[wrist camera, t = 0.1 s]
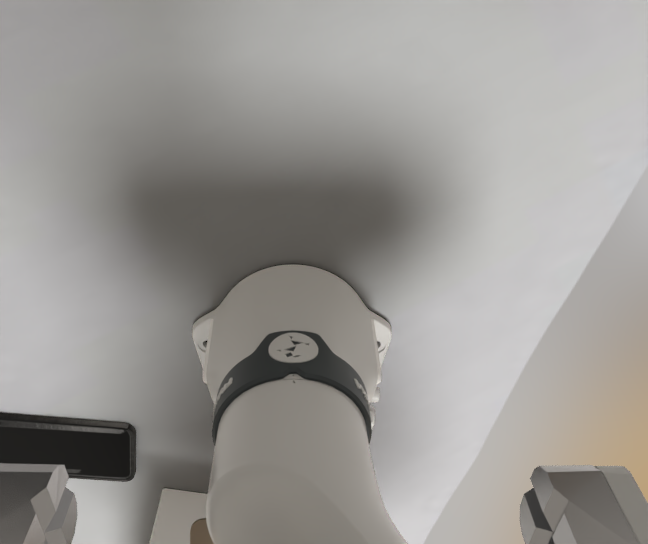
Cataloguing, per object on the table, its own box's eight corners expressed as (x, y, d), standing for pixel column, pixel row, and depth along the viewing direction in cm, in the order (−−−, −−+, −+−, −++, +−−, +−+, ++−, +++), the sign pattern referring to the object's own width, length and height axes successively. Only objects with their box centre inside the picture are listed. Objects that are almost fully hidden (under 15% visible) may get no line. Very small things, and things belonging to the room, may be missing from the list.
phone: (-20, 416, 58) (134, 429, 60) (-15, 409, 59) (136, 421, 61) (-11, 473, 62) (134, 483, 63) (-6, 465, 63) (136, 475, 64)
